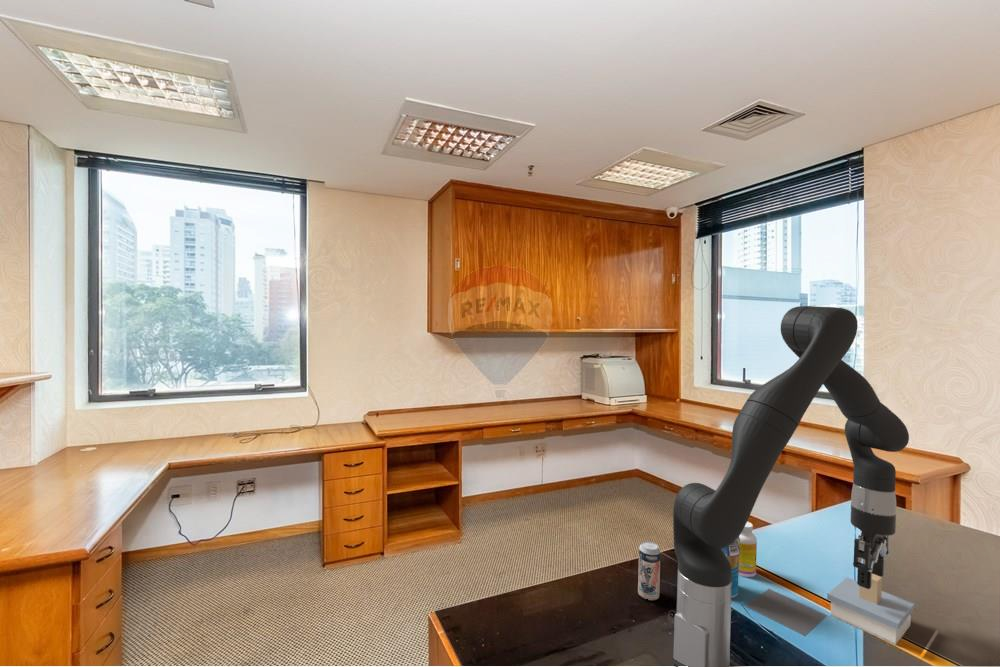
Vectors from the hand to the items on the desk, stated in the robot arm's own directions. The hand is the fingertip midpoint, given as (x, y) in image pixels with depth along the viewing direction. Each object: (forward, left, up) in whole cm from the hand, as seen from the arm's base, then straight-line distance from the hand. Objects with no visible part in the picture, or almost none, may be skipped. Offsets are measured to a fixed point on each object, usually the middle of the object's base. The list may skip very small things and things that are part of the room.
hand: (870, 580), depth 96 cm
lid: (0, 0, -5) cm, 5 cm away
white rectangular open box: (0, 0, -9) cm, 9 cm away
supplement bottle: (-3, +26, -9) cm, 28 cm away
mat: (-12, +12, -9) cm, 19 cm away
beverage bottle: (-16, +25, -9) cm, 31 cm away
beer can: (-33, +33, -9) cm, 47 cm away
